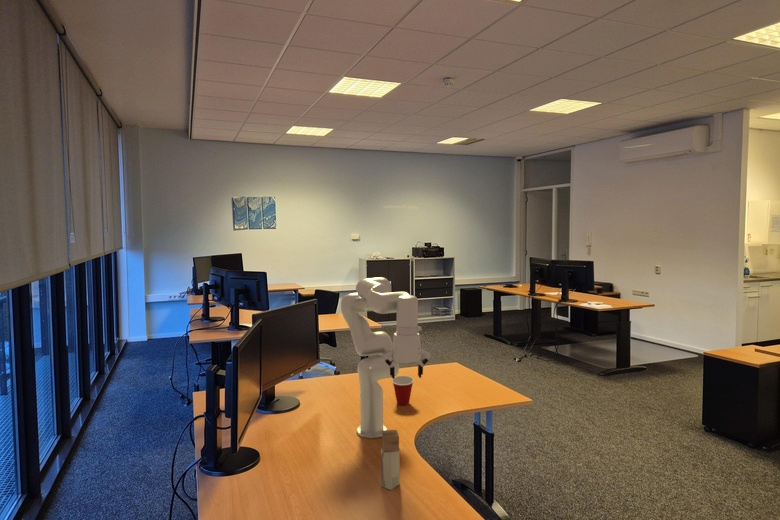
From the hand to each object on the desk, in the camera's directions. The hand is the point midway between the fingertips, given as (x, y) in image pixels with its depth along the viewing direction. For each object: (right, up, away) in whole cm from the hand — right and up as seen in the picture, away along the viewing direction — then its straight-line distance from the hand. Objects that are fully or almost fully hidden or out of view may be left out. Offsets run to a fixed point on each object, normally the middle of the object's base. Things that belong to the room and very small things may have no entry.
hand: (406, 376), depth 170 cm
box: (-6, -33, -12) cm, 36 cm away
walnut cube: (-6, -20, -13) cm, 25 cm away
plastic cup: (0, -28, +59) cm, 65 cm away
